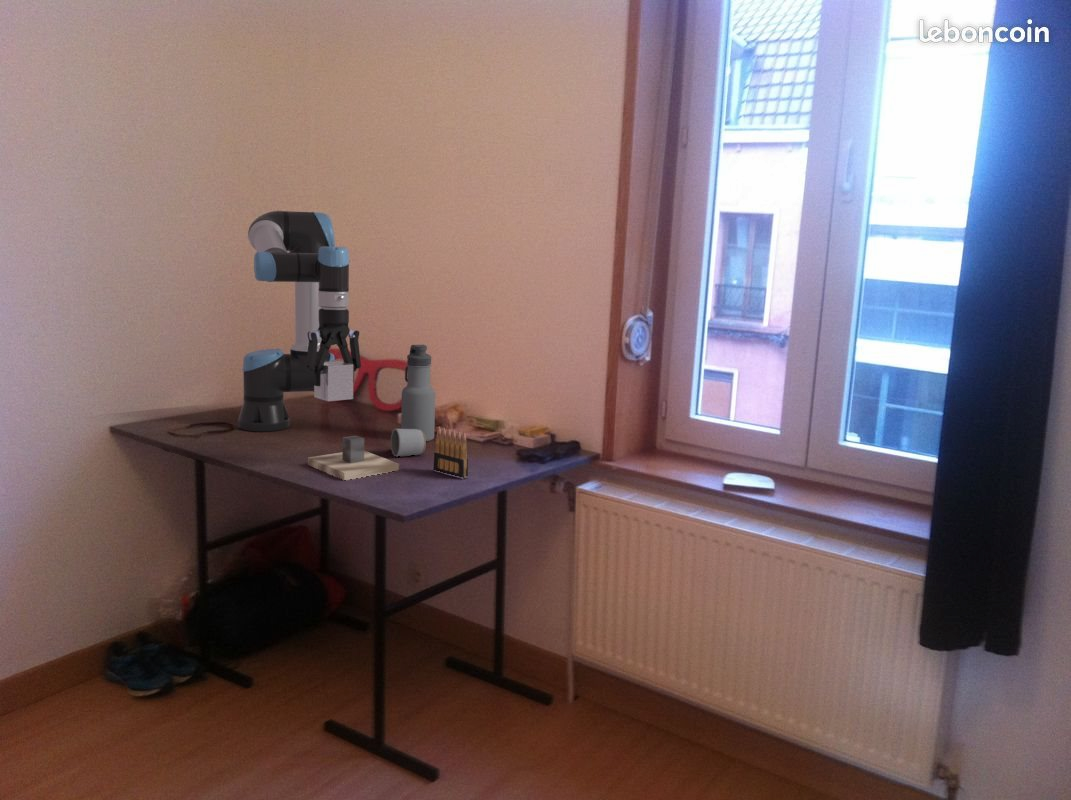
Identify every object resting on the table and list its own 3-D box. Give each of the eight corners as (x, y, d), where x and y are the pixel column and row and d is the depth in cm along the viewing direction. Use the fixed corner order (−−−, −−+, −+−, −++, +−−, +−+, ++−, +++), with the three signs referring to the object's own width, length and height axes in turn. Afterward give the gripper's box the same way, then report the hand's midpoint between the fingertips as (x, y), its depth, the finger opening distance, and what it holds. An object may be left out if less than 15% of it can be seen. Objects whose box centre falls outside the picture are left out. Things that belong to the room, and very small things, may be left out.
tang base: (308, 464, 238) (307, 435, 236) (361, 456, 248) (361, 427, 247) (344, 480, 225) (344, 449, 223) (398, 471, 235) (399, 441, 234)
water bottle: (397, 435, 275) (399, 343, 269) (429, 434, 278) (431, 342, 273) (405, 443, 265) (406, 347, 260) (437, 442, 269) (440, 347, 263)
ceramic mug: (427, 457, 251) (427, 429, 249) (398, 459, 247) (398, 431, 246) (413, 449, 260) (414, 422, 259) (386, 451, 256) (386, 424, 255)
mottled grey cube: (314, 397, 236) (314, 362, 235) (339, 394, 241) (339, 360, 239) (328, 401, 231) (328, 366, 229) (353, 398, 236) (353, 364, 234)
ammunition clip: (433, 471, 237) (434, 426, 235) (438, 470, 238) (439, 425, 236) (463, 479, 230) (464, 433, 228) (468, 478, 232) (469, 432, 230)
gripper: (304, 310, 222) (305, 402, 226) (375, 308, 236) (375, 396, 240) (290, 307, 228) (291, 398, 232) (360, 306, 241) (360, 391, 245)
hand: (333, 397), depth 236 cm, fingers closed on mottled grey cube, 7 cm apart
